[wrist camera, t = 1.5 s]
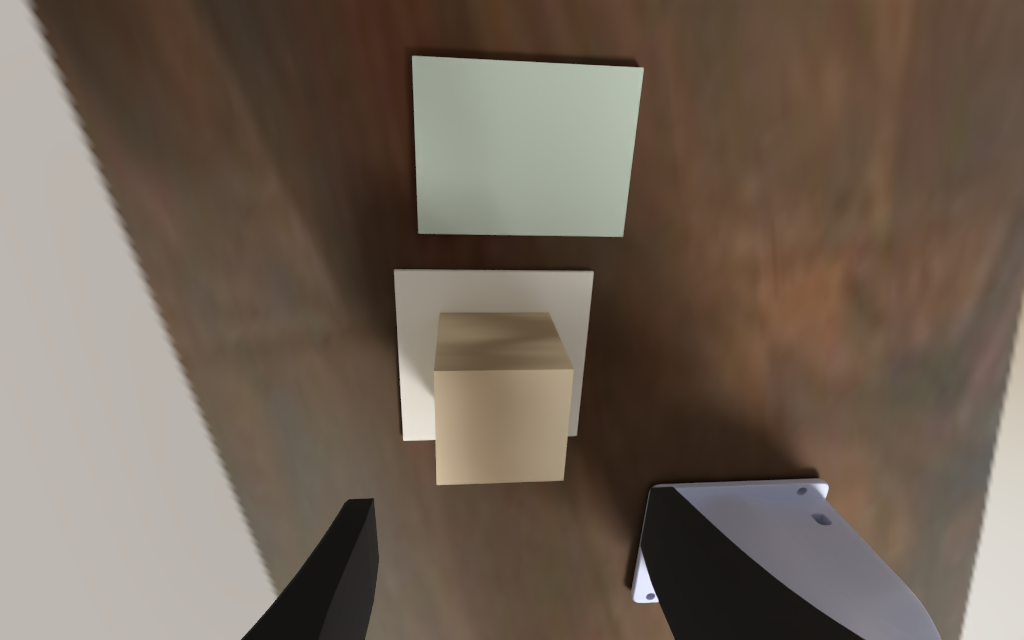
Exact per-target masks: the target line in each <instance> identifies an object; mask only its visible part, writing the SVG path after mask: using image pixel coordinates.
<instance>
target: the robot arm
mask: <svg viewBox="0 0 1024 640" xmlns="http://www.w3.org/2000/svg"><path fill="white" fill-rule="evenodd" d="M828 489H829V486H828V484H827V483H826V482H825V481H824V480H822V479H819V478H814V479H787V480H761V481H734V482H707V483H681V484H659V485H655V486H653V487H651V488H650V491H649V495H648V501H647V506H646V512H645V517H644V523H643V528H642V534H641V540H640V545H639V551H638V556H637V562H636V567H635V573H634V578H633V584H632V590H631V595H632V598H633V600H634V601H635V602H637V603H647V602H659V603H660V605H661V608H662V610H663V613H664V615H665V617H666V620H667V622H668V624H669V626H670V629H671V631H672V633H673V636H674V638H675V640H941V637H940V635H939V633H938V631H937V629H936V627H935V625H934V623H933V621H932V619H931V617H930V616H929V614H928V612H927V611H926V609H925V608H924V606H923V605H922V603H921V602H920V601H919V599H918V598H917V597H916V595H915V594H914V593H913V592H912V591H911V590H910V588H909V587H908V586H907V585H906V584H905V583H904V582H903V581H902V580H901V579H900V578H899V577H898V576H897V575H896V574H895V572H894V571H893V570H892V569H891V568H890V567H889V566H888V565H887V564H886V563H885V562H884V561H883V560H882V559H881V558H880V557H879V556H878V555H877V553H876V552H875V551H874V550H873V549H872V548H871V547H870V546H869V545H868V544H867V543H866V542H865V541H864V540H863V539H862V538H861V537H860V535H859V534H858V533H857V532H856V531H855V530H854V529H853V528H852V527H851V526H850V525H849V524H848V523H847V522H846V521H845V520H844V519H843V518H842V516H841V515H840V514H839V513H838V512H837V511H836V510H835V509H834V508H833V507H832V506H831V505H830V504H829V503H828V502H827V501H826V500H825V498H826V495H827V492H828ZM378 563H379V553H378V542H377V530H376V519H375V508H374V498H372V499H349V500H348V501H347V502H345V503H344V505H343V507H342V508H341V510H340V512H339V513H338V515H337V517H336V518H335V520H334V521H333V523H332V524H331V526H330V528H329V529H328V531H327V532H326V534H325V535H324V537H323V538H322V539H321V541H320V542H319V544H318V545H317V547H316V548H315V549H314V551H313V552H312V554H311V555H310V556H309V558H308V559H307V561H306V562H305V563H304V565H303V566H302V567H301V569H300V570H299V571H298V573H297V574H296V575H295V577H294V578H293V579H292V580H291V582H290V583H289V584H288V585H287V587H286V588H285V589H284V590H283V592H282V593H281V594H280V595H279V597H278V598H277V599H276V600H275V602H274V603H273V604H272V605H271V607H270V608H269V609H268V610H267V611H266V612H265V614H264V615H263V616H262V617H261V618H260V619H259V620H258V622H257V623H256V624H255V625H254V626H253V627H252V628H251V630H250V631H249V632H248V633H247V634H246V635H245V636H244V637H243V638H242V639H241V640H365V637H366V632H367V628H368V624H369V619H370V615H371V611H372V606H373V602H374V595H375V587H376V580H377V572H378Z"/></svg>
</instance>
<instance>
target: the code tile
mask: <svg viewBox="0 0 1024 640" xmlns="http://www.w3.org/2000/svg"><path fill="white" fill-rule="evenodd" d="M593 275H594V272H593V271H554V270H430V269H394V281H395V299H396V317H397V335H398V353H399V371H400V389H401V407H402V425H403V441H410V440H436V437H435V398H434V364H435V355H436V345H437V335H438V326H439V316H440V313H549V314H550V316H551V319H552V321H553V323H554V325H555V328H556V330H557V332H558V334H559V337H560V339H561V341H562V343H563V346H564V348H565V350H566V352H567V355H568V357H569V359H570V361H571V364H572V366H573V368H574V376H573V386H572V396H571V407H570V417H569V428H568V436H577V429H578V420H579V410H580V400H581V391H582V381H583V372H584V362H585V352H586V343H587V333H588V323H589V314H590V304H591V295H592V285H593Z"/></svg>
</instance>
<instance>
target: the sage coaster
mask: <svg viewBox="0 0 1024 640" xmlns="http://www.w3.org/2000/svg"><path fill="white" fill-rule="evenodd" d="M412 69H413V98H414V126H415V155H416V183H417V211H418V234H471V235H536V236H601V237H623V232H624V224H625V216H626V208H627V200H628V192H629V183H630V175H631V167H632V159H633V151H634V143H635V135H636V127H637V119H638V111H639V103H640V95H641V86H642V78H643V70H644V68H640V67H620V66H601V65H582V64H562V63H543V62H523V61H504V60H484V59H465V58H446V57H426V56H412Z"/></svg>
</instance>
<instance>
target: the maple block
mask: <svg viewBox="0 0 1024 640" xmlns="http://www.w3.org/2000/svg"><path fill="white" fill-rule="evenodd" d="M573 376H574V368H573V366H572V364H571V361H570V359H569V357H568V355H567V352H566V350H565V348H564V346H563V343H562V341H561V339H560V337H559V334H558V332H557V330H556V328H555V325H554V323H553V321H552V319H551V316H550V314H549V313H440V316H439V326H438V335H437V345H436V355H435V364H434V398H435V437H436V476H437V485H453V484H481V483H508V482H536V481H563V480H564V470H565V459H566V449H567V438H568V428H569V417H570V407H571V396H572V386H573Z"/></svg>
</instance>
